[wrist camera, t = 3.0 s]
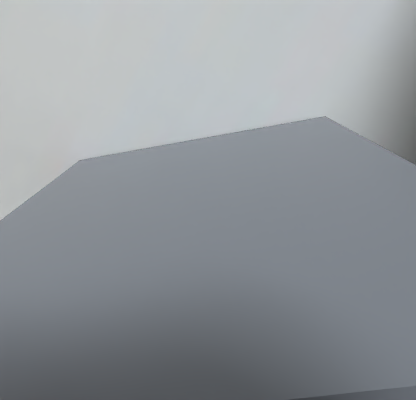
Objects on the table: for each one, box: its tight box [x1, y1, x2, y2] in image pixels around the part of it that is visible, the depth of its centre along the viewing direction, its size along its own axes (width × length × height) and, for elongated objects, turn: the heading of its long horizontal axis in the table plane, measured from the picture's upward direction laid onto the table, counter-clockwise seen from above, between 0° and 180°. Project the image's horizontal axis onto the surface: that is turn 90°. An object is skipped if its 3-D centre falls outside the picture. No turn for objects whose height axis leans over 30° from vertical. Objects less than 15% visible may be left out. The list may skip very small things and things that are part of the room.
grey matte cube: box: [0, 117, 416, 400], centre depth 8 cm, size 8×8×9 cm
